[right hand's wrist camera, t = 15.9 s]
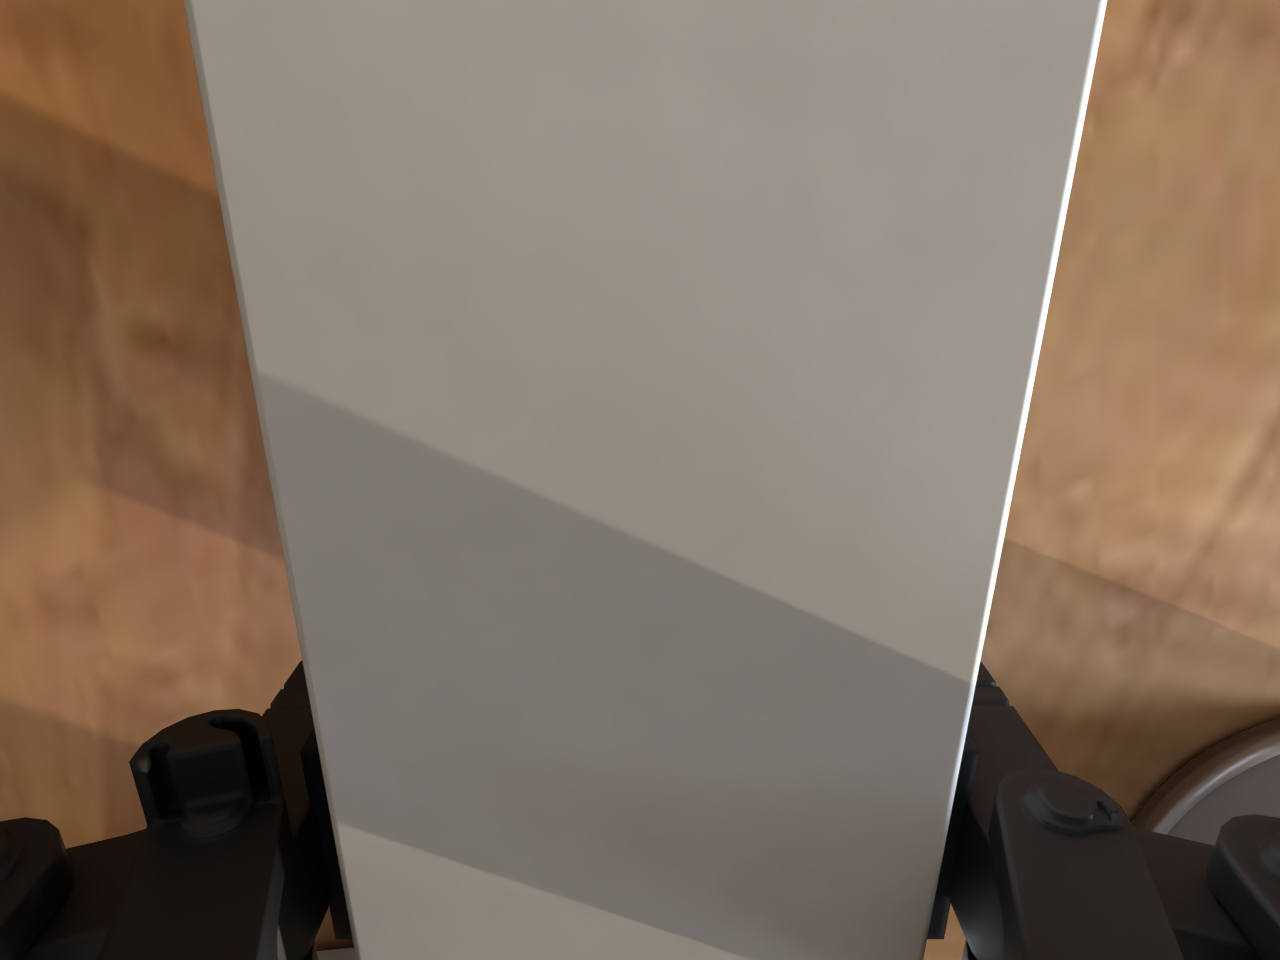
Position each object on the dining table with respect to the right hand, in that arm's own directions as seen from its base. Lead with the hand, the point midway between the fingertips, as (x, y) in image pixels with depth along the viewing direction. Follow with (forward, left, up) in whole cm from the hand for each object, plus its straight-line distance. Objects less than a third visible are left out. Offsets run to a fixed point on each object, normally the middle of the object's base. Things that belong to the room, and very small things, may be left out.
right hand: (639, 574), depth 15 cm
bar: (+10, -18, -1) cm, 21 cm away
